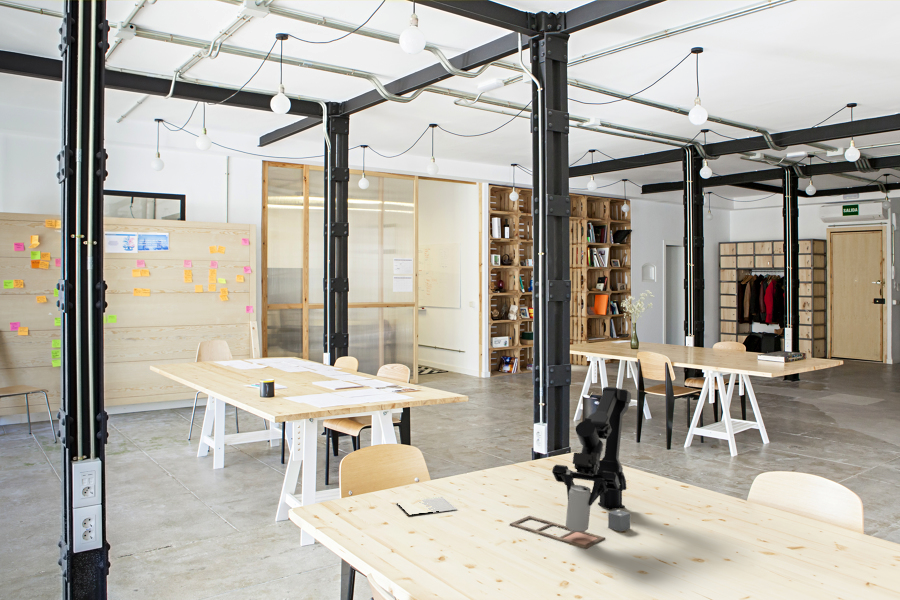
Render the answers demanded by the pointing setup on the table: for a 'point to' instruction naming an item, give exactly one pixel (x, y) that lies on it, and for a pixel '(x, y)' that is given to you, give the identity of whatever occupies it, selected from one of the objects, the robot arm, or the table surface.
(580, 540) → the brown divided frame
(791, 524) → the table surface
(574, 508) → the beverage can
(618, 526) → the grey cube
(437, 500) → the paper stack
